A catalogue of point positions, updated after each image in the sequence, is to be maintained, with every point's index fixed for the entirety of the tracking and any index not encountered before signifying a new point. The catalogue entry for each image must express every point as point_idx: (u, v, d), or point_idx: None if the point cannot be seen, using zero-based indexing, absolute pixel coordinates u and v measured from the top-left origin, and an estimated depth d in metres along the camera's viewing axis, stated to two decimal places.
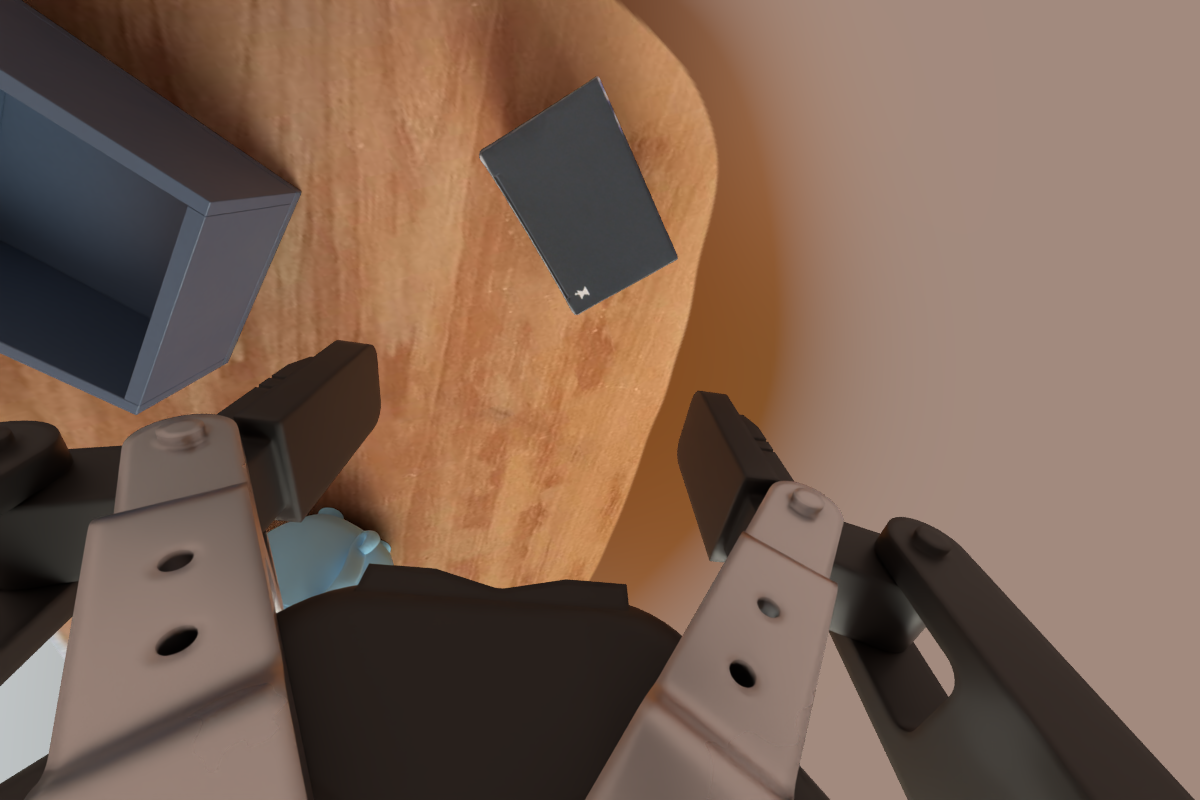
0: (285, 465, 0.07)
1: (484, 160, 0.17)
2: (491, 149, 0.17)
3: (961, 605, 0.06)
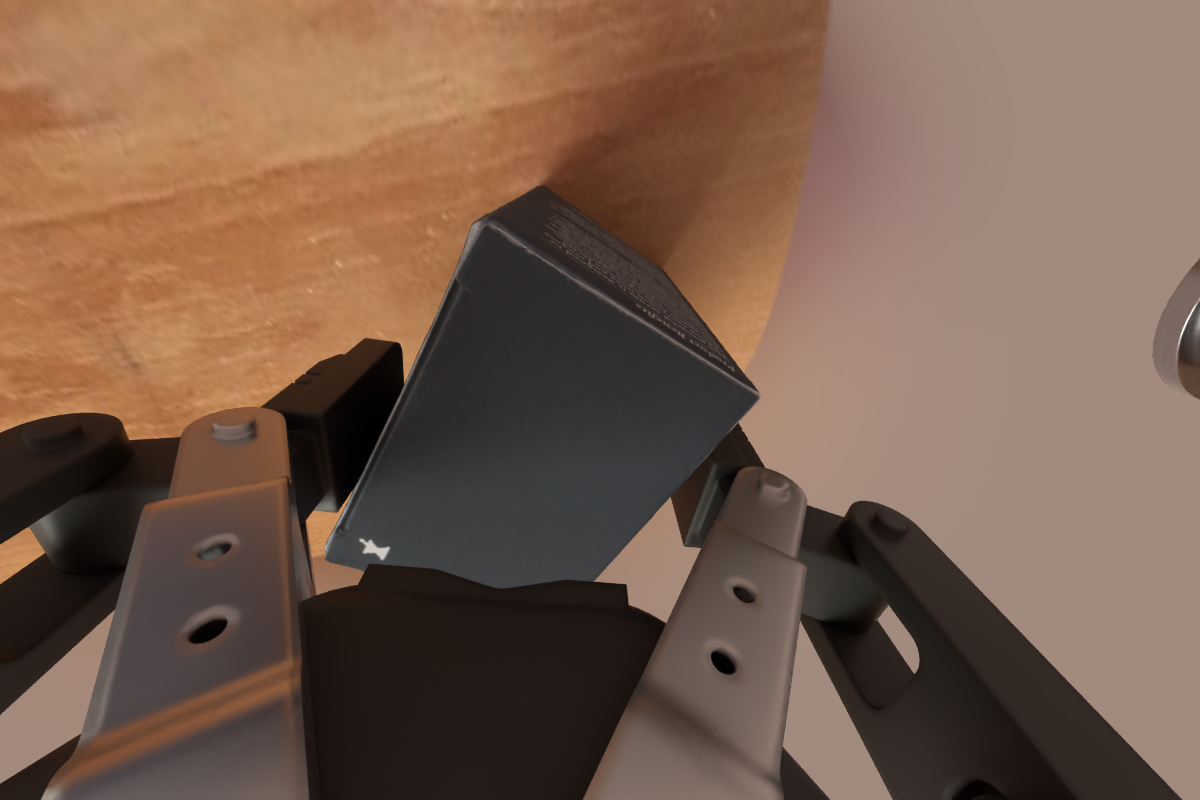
0: (324, 457, 0.08)
1: (475, 241, 0.06)
2: (511, 248, 0.06)
3: (922, 584, 0.06)
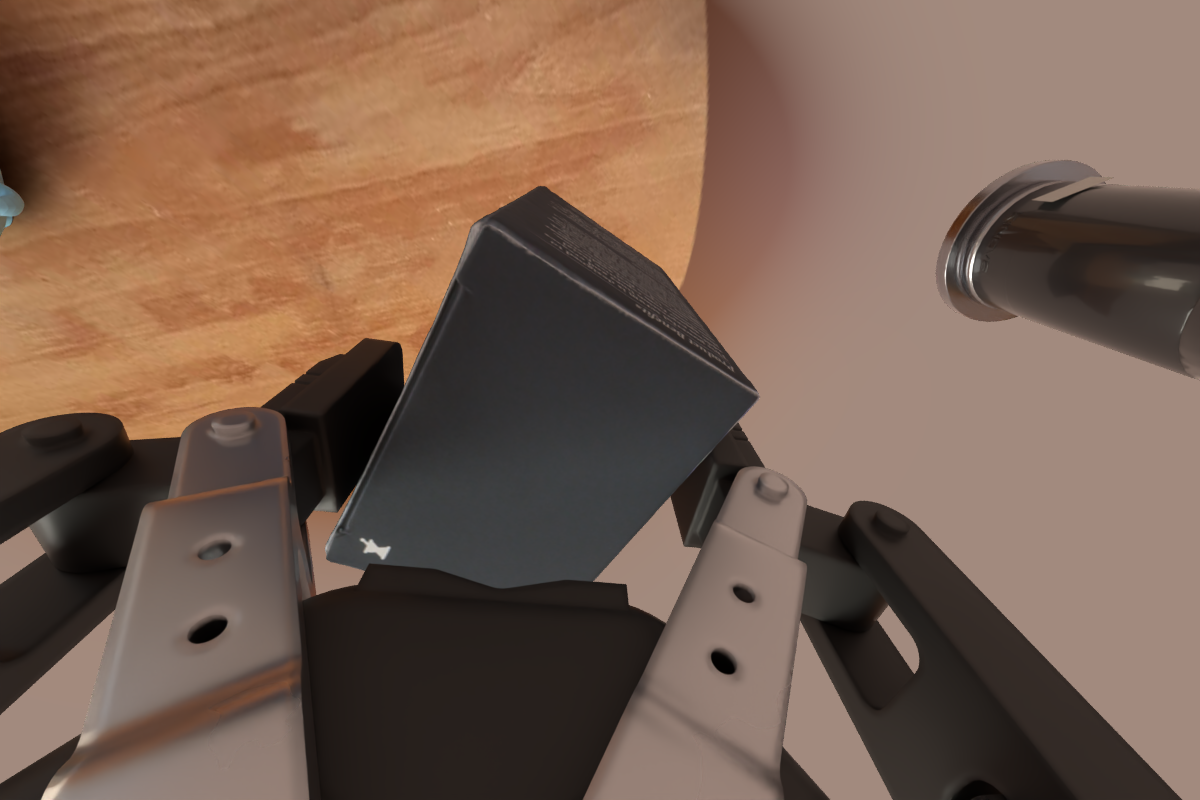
0: (325, 457, 0.08)
1: (475, 242, 0.06)
2: (511, 248, 0.06)
3: (921, 584, 0.06)
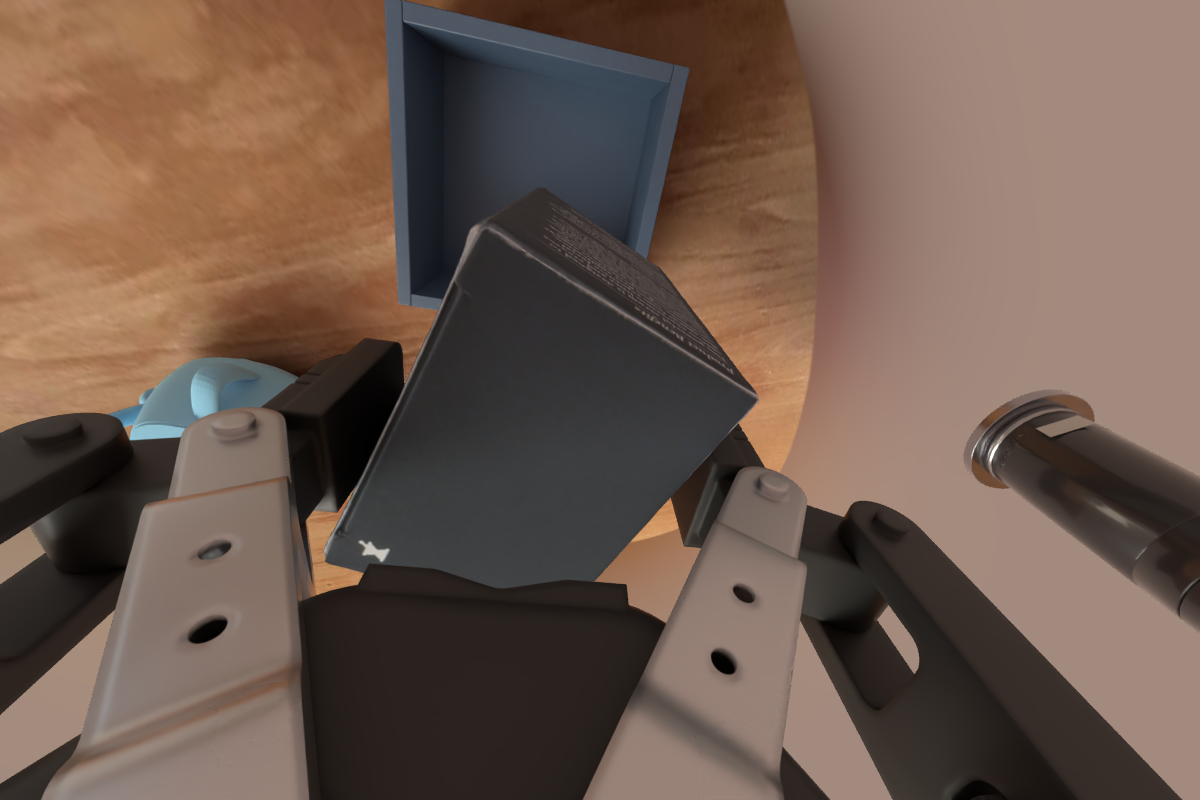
0: (325, 457, 0.08)
1: (474, 244, 0.06)
2: (510, 251, 0.06)
3: (922, 584, 0.06)
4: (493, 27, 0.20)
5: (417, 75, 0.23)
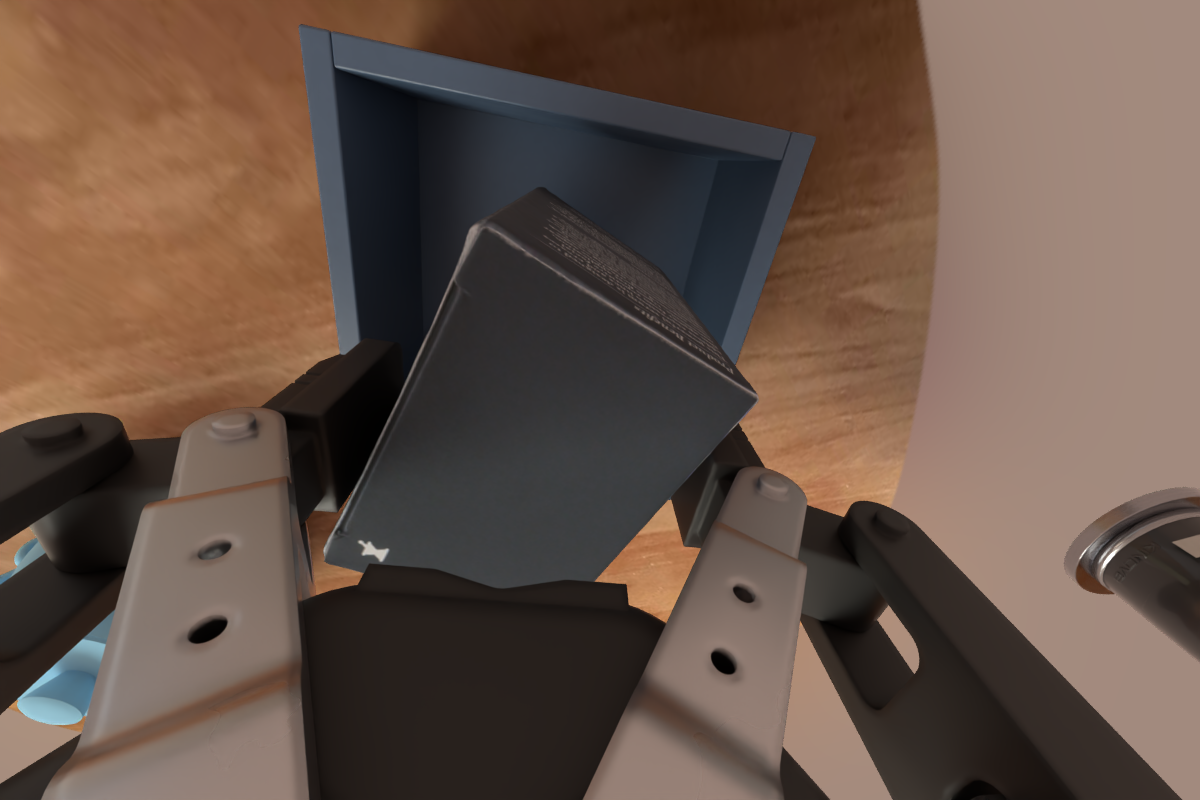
0: (325, 457, 0.08)
1: (473, 244, 0.06)
2: (509, 251, 0.06)
3: (922, 584, 0.06)
4: (491, 75, 0.12)
5: (369, 145, 0.14)
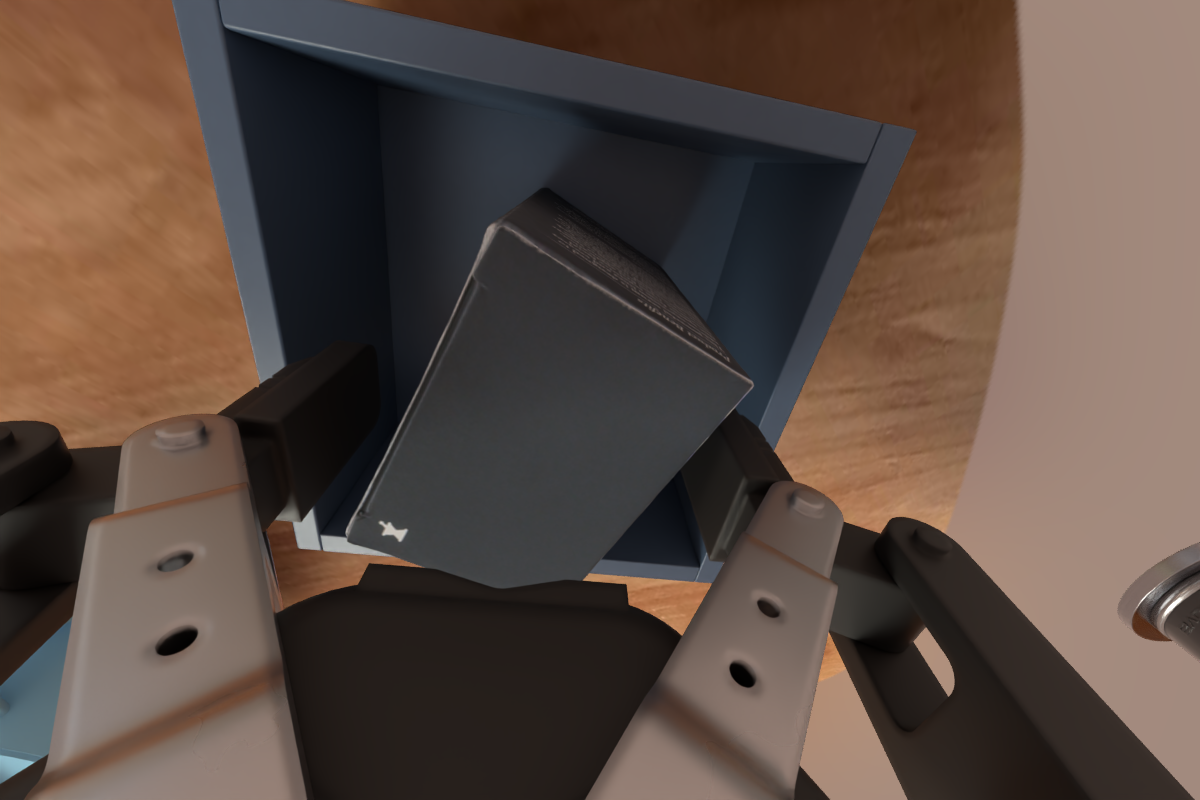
0: (285, 465, 0.07)
1: (491, 241, 0.07)
2: (523, 248, 0.07)
3: (961, 605, 0.06)
4: (455, 40, 0.08)
5: (298, 142, 0.10)
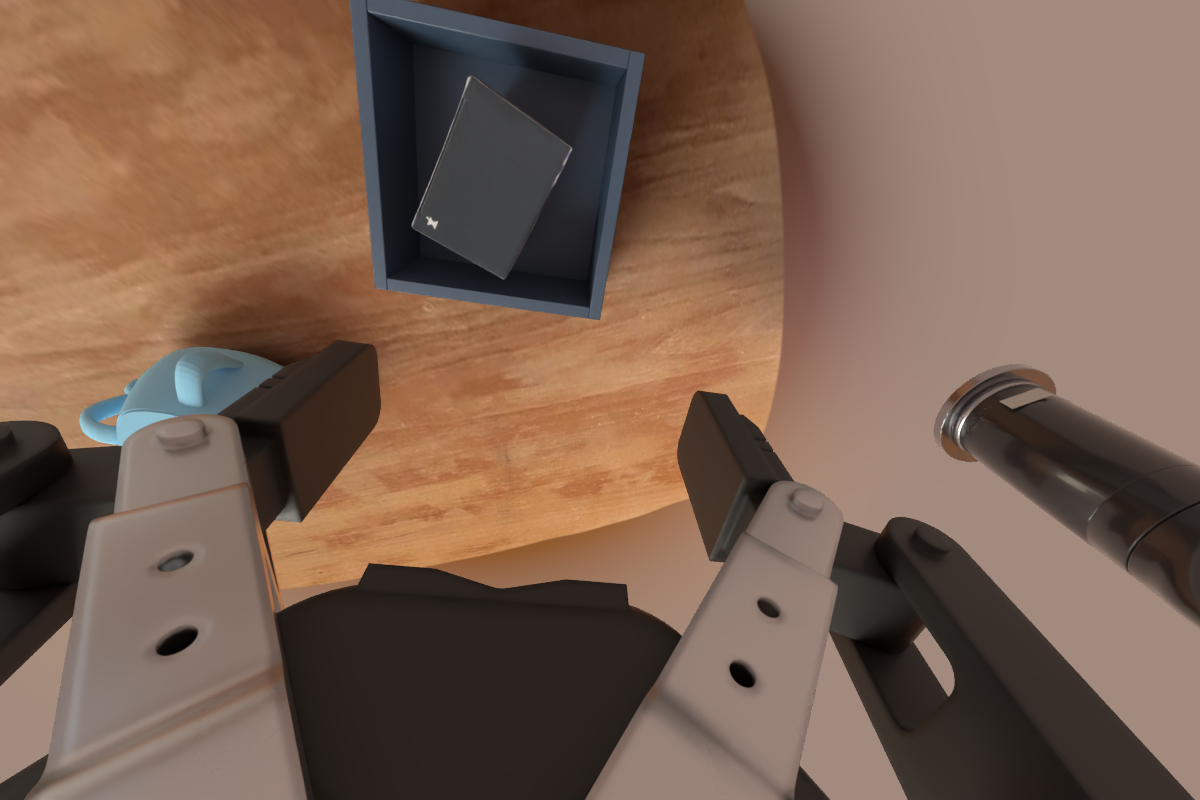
0: (285, 465, 0.07)
1: (468, 82, 0.20)
2: (480, 85, 0.20)
3: (961, 605, 0.06)
4: (455, 16, 0.21)
5: (385, 64, 0.24)
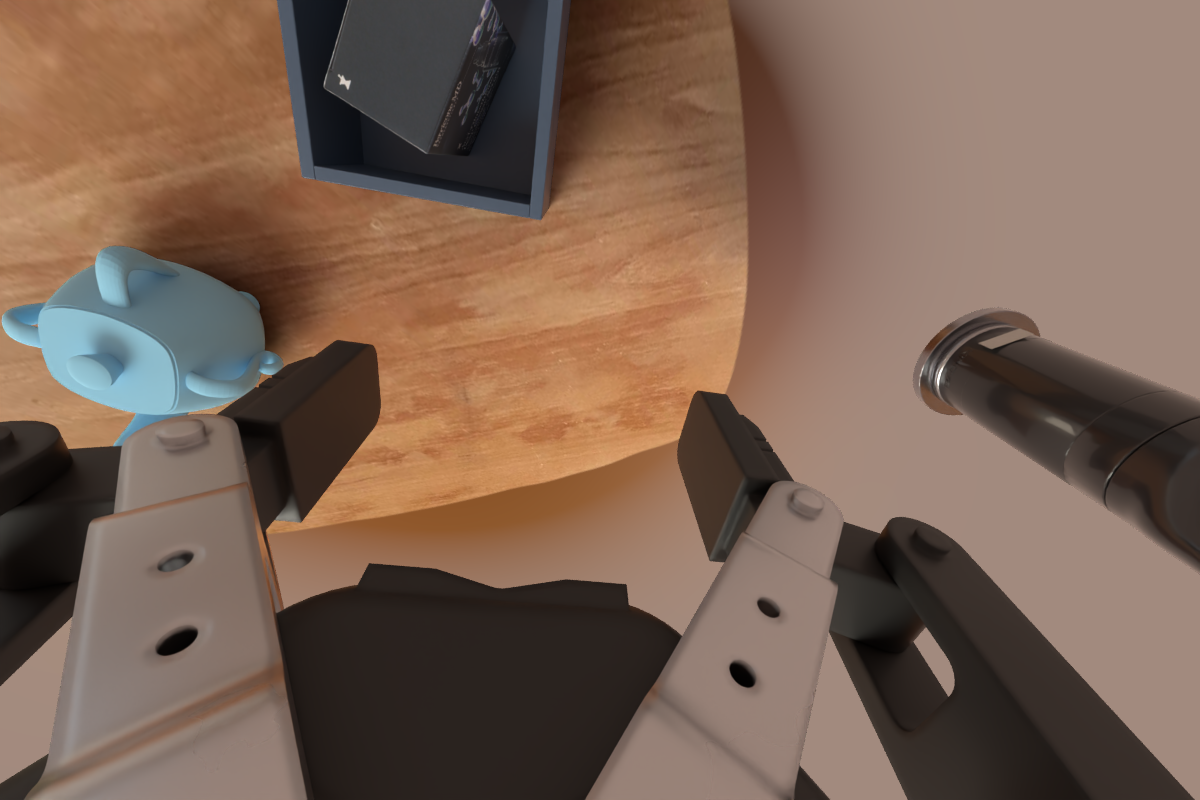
0: (285, 465, 0.07)
1: None
2: None
3: (961, 605, 0.06)
4: None
5: None
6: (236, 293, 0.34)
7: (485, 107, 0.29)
